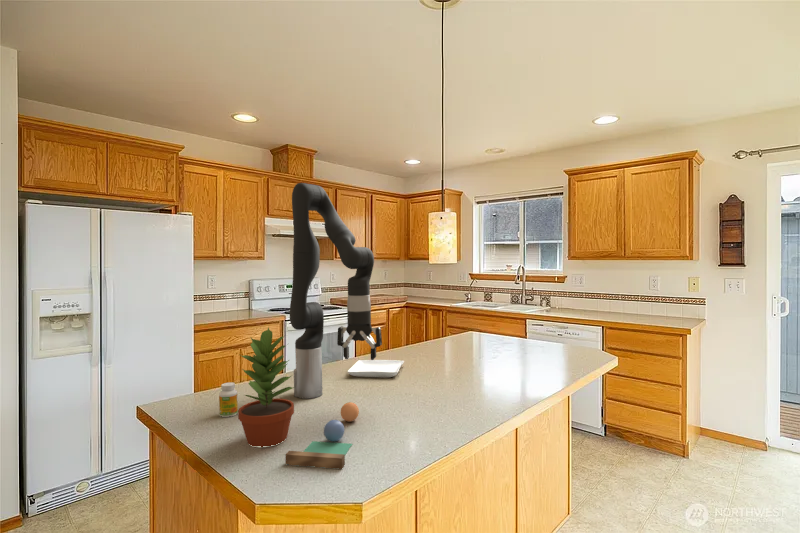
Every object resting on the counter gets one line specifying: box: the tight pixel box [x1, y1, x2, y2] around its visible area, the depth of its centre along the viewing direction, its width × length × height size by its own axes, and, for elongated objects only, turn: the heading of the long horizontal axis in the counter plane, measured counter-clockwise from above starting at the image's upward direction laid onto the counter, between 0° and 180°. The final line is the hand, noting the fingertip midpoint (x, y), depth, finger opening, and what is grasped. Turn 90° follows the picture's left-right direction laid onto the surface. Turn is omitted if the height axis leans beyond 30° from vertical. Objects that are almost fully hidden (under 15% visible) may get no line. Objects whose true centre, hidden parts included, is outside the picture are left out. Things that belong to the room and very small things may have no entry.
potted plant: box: [237, 326, 296, 447], centre depth 115 cm, size 15×15×30 cm
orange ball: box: [339, 401, 360, 423], centre depth 128 cm, size 6×6×6 cm
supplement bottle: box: [218, 381, 239, 418], centre depth 135 cm, size 5×5×10 cm
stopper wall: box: [284, 450, 346, 470], centre depth 101 cm, size 14×2×2 cm, turn 79°
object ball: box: [323, 419, 345, 443], centre depth 114 cm, size 6×6×6 cm
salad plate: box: [347, 359, 405, 378], centre depth 183 cm, size 21×21×3 cm
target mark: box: [302, 440, 353, 456], centre depth 107 cm, size 11×11×1 cm
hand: (359, 359), depth 137 cm, fingers open, 8 cm apart
